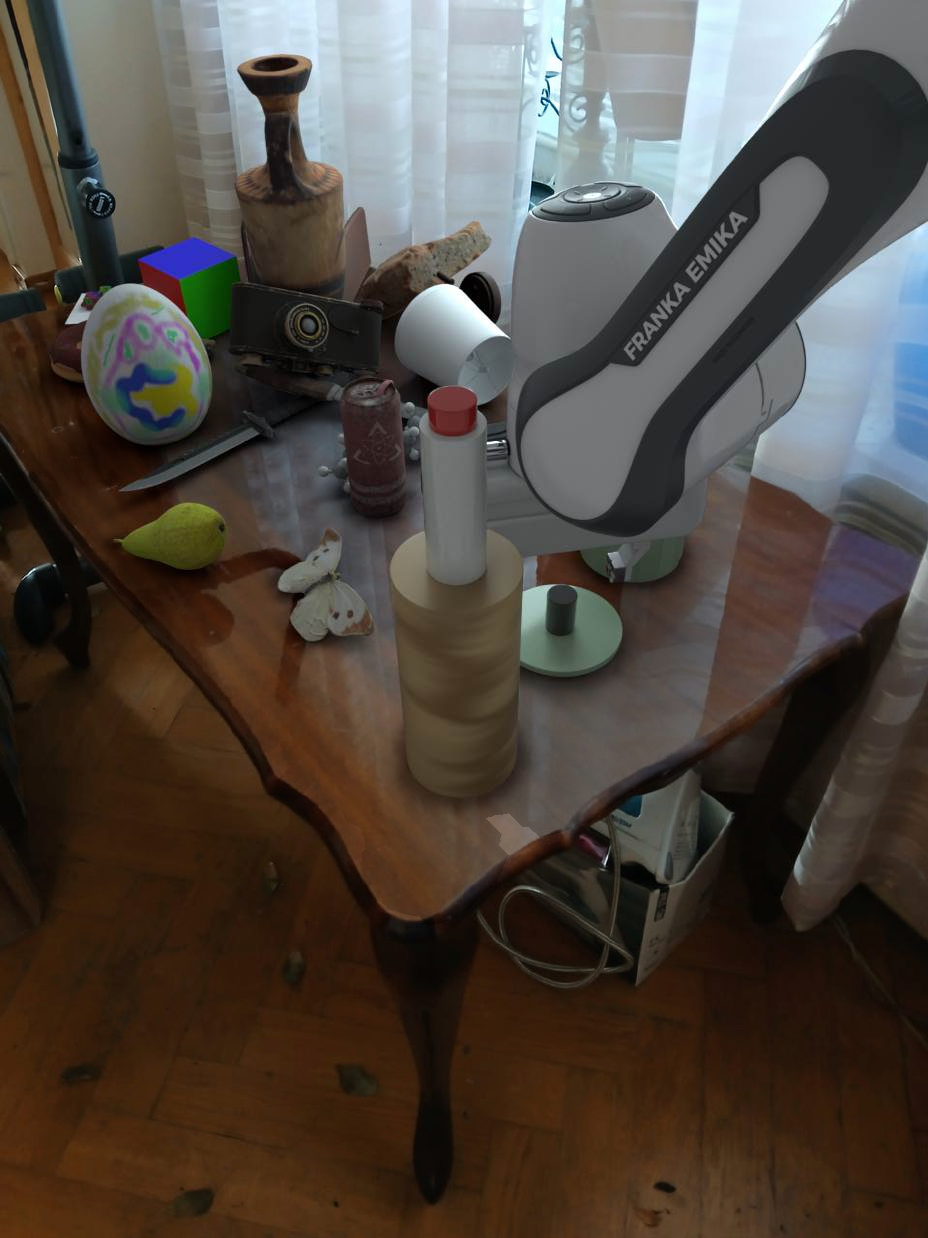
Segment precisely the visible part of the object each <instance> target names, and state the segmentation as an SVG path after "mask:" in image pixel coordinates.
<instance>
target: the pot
mask: <svg viewBox="0 0 928 1238" xmlns="http://www.w3.org/2000/svg"><path fill="white" fill-rule="evenodd" d="M685 541H686V536H680V537H672V538H665V539H657V540H651V544H650V549H649V550H648V551H647V552H646V553H645V554H644V555H643V556H642V557H641V558H640V560H639V561H638V562H637V563H636V564H635V565H633V567H632V573H631V579H630V580H629V581H622V582H624V583H634V584H635V583H638V584H639V583H647V582H653V581H656V580H659V579H662V578H664V577H666V576H667V575H669V574H671V572H673V571H674V570H675V569H676V568H677V566H678V564H680V562H681V558H682V557H683V551H684V546H685ZM621 546H622V544H620V545H613V546H606V547H598V548H591V549H583V550H579V553H580V555H581V558H582V560H583V561H584V563H586V565H587V566H588V567H589V568H590V569H591V570H592V571H594V572H596V573H597V574H599V575H601V576H603V577H605V578H608V579H610V577H609V576H608V575H607V572H606V564H607V563H608V561H607V555H608V553H613V552H618V550H619V549H620V547H621Z"/></svg>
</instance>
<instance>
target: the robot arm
mask: <svg viewBox="0 0 928 1238" xmlns="http://www.w3.org/2000/svg"><path fill="white" fill-rule="evenodd" d="M834 12H835V13H834V14H833V15H832V17H831V18H830V20H829V21H828V23H827V25H826V26H825V27H824V29H823V30H822V32H821V33H820V34H819V36H818V37H817V39H816V40H815V42H814V43H813V45H812V46H811V48H810V49H809V50H808V52H807V53H806V55H805V56H804V57H803V59H802V60H801V62H800V63H799V65H798V66H797V68H796V69H795V71H794V72H793V74H792V75H791V76H790V78H789V79H788V81H787V82H786V84H785V85H784V87H783V88H782V90H781V91H780V93H779V94H778V96H777V97H776V98H775V101H774V102H773V103H772V104H771V106H770V108H769V109H768V111H767V112H766V115H765V116H764V117H763V118H762V120H761V121H760V123H759V125H758V126H757V127H756V128H755V129H754V131H753V132H752V133H751V134H750V137H749V138H748V139H747V140H746V142H745V143H744V144H743V146H742V147H741V148H740V149H739V150H738V152H737V153H736V154H735V155H734V157H733V158H732V160H730V162H729V163H728V164H727V166H726V167H725V168H724V170H723V171H722V172H721V174H720V175H719V176H718V177H717V179H716V180H715V181H714V182H713V183H712V185H711V186H710V187H709V189H708V190H707V192H705V194H704V195H703V196H702V198H701V199H700V201H699V202H698V203H697V204H696V205H695V207H694V208H693V209H692V211H691V212H690V214H689V215H688V216H687V218H686V219H685V220H684V221H683V222H682V224H681V225H680V227H679V228H678V227H677V225H676V223H675V222H674V221H673V219H672V217H671V216H670V213H669V212H668V210H667V208H666V205H665V203H664V202H663V200H662V199H661V197H660V196H659V195H658V194H657V193H656V192H655V191H653V190H652V189H650V188H648V187H646V186H643V185H640V184H639V183H635V182H629V181H619V180H618V181H616V180H612V181H611V180H605V181H603V180H602V181H595V182H593V183H592V182H591V183H585V184H578V185H573V186H572V187H571V186H570V187H569V188H566V189H563V190H561V191H558V192H556V193H554V194H552V195H550V196H548V197H546V198H544V199H543V200H541V201H539V202H538V203H536V205H535V206H534V207H532V208H531V210H529V212H527V215H526V217H525V219H524V221H523V223H522V225H521V230H520V233H519V237H518V240H517V246H516V249H515V256H514V262H513V270H512V278H511V279H512V280H511V292H510V307H509V309H510V310H509V338H510V340H511V344H512V348H513V351H514V355H515V366H514V370H513V373H512V376H511V379H510V381H509V383H508V385H507V386H508V387H507V400H506V401H507V403H506V405H507V407H506V409H507V410H506V412H507V413H506V421H507V436H506V440H502V441H493V442H487V529H489V530H491V531H494V532H496V533H498V534H500V535H502V536H503V537H505V538H506V539H508V540H509V541H510V542H511V543H512V544H513V545H514V546H515V547H516V549H517V550H518V551H519V553H520V555H521V557H522V559H523V558H530V557H537V556H546V555H554V554H560V553H561V554H562V553H569V552H576V551H580V550H583V549H591V548H598V547H606V546H613V545H620V544H622V546H621V547H620V549H619V550H618V552H613V553H608V555H607V561H608V563H607V564H606V572H607V575H608V576H609V577H610V578H609V582H610V583H613V584H614V583H620V582H623V581H629V580H630V579H631V573H632V567H633V565H635V564H636V563H637V562H638V561H639V560H640V558H641V557H642V556H643V555H644V554H645V553H646V552H647V551H648V550H649V549H650V544H651V540H657V539H665V538H672V537H680V536H685V537H686V536H689V535H691V534H693V532H694V531H695V530H697V529H698V528H699V527H700V525H701V524H703V523H702V522H703V521H704V517H705V511H706V506H707V497H708V480H709V479H708V477H710V476H711V475H712V474H714V473H715V472H716V471H717V470H718V469H720V468H721V467H722V466H723V465H724V464H726V463H727V462H729V461H730V460H731V459H733V458H734V457H735V456H736V455H738V454H739V453H740V452H741V451H742V450H743V449H745V448H746V447H747V446H749V445H750V444H751V443H752V442H754V441H755V440H756V439H757V438H760V436H761V435H762V434H763V433H765V432H766V431H767V430H768V429H770V428H771V427H772V426H773V425H774V424H776V423H777V422H779V420H780V419H781V418H783V417H784V416H785V415H786V414H788V413H789V412H790V411H791V410H792V408H793V407H794V406H795V404H796V403H797V401H798V400H799V398H800V395H801V393H802V390H803V388H804V384H805V380H806V375H807V351H806V344H805V340H804V337H803V334H802V330H801V328H800V325H799V323H798V320H799V319H800V318H801V316H803V315H804V314H805V312H806V311H808V309H809V308H811V307H812V305H814V304H816V302H817V301H818V300H819V299H820V298H821V297H823V296H824V295H825V294H826V293H827V292H828V291H830V289H832V288H833V287H834V286H835V285H837V284H838V283H839V282H840V281H842V280H843V279H844V278H845V277H847V276H848V275H849V274H851V273H852V272H853V271H854V270H856V269H857V268H859V267H860V266H861V265H863V264H864V263H866V262H868V260H870V259H871V258H873V257H874V256H876V255H877V254H878V253H880V252H882V251H883V250H884V249H886V248H888V247H889V246H890V245H891V246H892V244H895V242H897V241H899V240H900V239H902V238H904V237H905V236H906V235H908V234H909V233H911V232H913V231H914V230H916V229H917V228H920V227H922V225H924V224H926V223H928V0H842V2H841V3H840V5H839V7H838V8H837V9H836V11H834ZM420 492H421V495H422V496H423V490H422V472H421V471H420Z"/></svg>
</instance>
